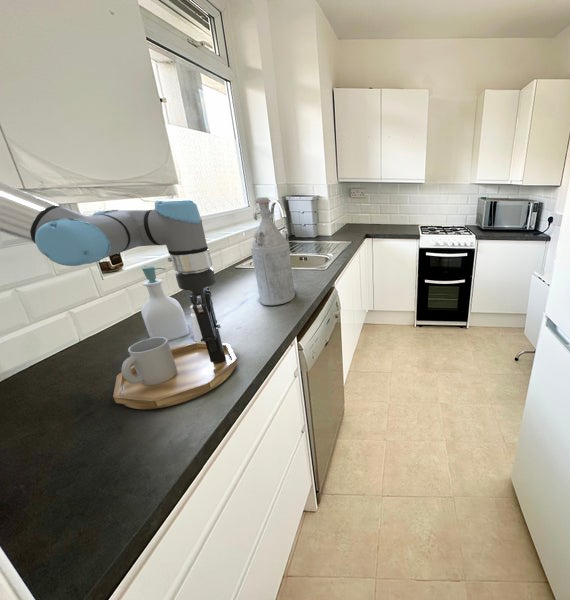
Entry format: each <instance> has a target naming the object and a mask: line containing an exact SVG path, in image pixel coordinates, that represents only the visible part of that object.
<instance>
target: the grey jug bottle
mask: <svg viewBox="0 0 570 600" xmlns="http://www.w3.org/2000/svg"><path fill="white" fill-rule="evenodd" d="M255 198H256V199H255V200H254V201H255V202H254V207H256V204H258V207H256V209H255V211H254V212H253V213H252V216H253V219H254V220H255V221H258V215H260V217H261V220H260V223H259V226H258V228H257V231H255V232H254V237H253V240H252V243H251V246H250V247H249V248H250V251H251V256H252V263H253V268H254V274H255V279H256V284H257V291H258V295H259V300H260V303H261V305H264V306H279V305H282V304H286V303H289V302H292V300H294V299H295V296H296V294H295V285H294V276H293V268H292V260H291V251H290V243H289V242H288V241H287V239H286V238H285V237H284V235H283V234H282V232H281V231H280V230H279V228H278V227H277V226H276V224H275V223H274V222H273V220H272V219H273V217H274V213H272V212H271V210H270V203H272V201H271V200H270V199H269V197H268V196H255ZM258 209H259V212H257V210H258Z"/></svg>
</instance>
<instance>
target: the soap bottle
mask: <svg viewBox="0 0 570 600" xmlns="http://www.w3.org/2000/svg"><path fill="white" fill-rule="evenodd" d="M141 270H142V272H143V274H144V276H145V278H146V281H144V282H142V286H144V287H146V288H147V291H148V294H149V297H148V299H147V301H145V302H144V303H143V305H142V307H141V310H140V313H141V316H142V319H143V323H144V325H145V328H146V330H147V334H148V337H149V338H155V337H164V338H166V339H167V341H168V342H169V341H171V340H176V339H179V338H182V337H185V336H187V335H189V333H190V328H189V325H188V322H187V317H186V315H185V311H184V309H183V308H182V305H181V303H180V302H179V301H178V300H177V299H176V298H173V297H171V296H168V295H166V294H165V293H164V289H163V287H162V283H163V282H164V281H163V279H160V278H159V279H157V275H156V270H164V271H165V270H167V269H166V267H165V268H164V267H155V265H153V266H152V265H149V266H148V265H147V266H143V267H141Z"/></svg>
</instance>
